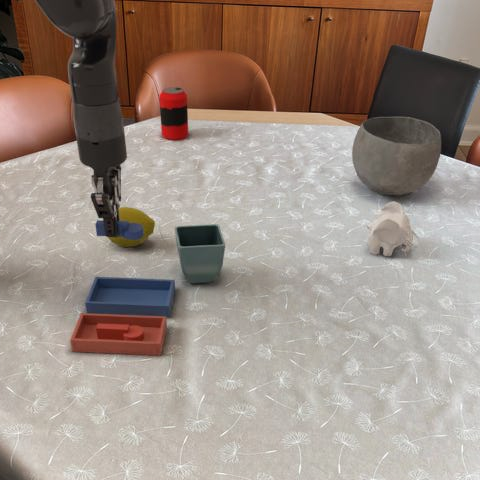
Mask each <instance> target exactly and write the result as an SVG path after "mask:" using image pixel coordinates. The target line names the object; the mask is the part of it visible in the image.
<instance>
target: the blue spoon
mask: <svg viewBox="0 0 480 480" xmlns="http://www.w3.org/2000/svg"><path fill="white" fill-rule="evenodd" d="M117 224H118V232H119V234H118V237H124V238H125V239H128V240H137V239H140V238H142V237H143V235H144V233H143V226H142V225H141V224H138V223H129V221H117ZM95 231H96V232H95V233H96V236H97V237H106V235H105V229H104V222H103V219H102V220H101V219H99V220H96V222H95Z"/></svg>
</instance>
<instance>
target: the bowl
mask: <svg viewBox="0 0 480 480" xmlns="http://www.w3.org/2000/svg"><path fill="white" fill-rule="evenodd" d="M351 149H352V151H351V159H352V165H353V168H354V171H355V173H356V175H357V177H358V179H359V180H360V182H362V184H363V185H364V186H365V187H367V188H369V189H370V190H372V191H374V192H376V193H378V194H382V195H388V196H402V195H407V194H410V193H413V192H416V191H418V190H420V189H422V187H424V186H425V185H426V184H427V183H428V182H429V181H430V180H431V178H432V177H433V176H434V174H435V171H436V170H437V167H438V164H439V162H440V159H441V153H442V135H441V132H440V130H439V129H438V128H436V126H434V125H433V124H432V123H430V122H428V121H426V120H422V119H418V118H414V117H410V116H376V117H369V118H367V119H366V120H364V121H363V122H362V123H361V124H360V126H359V128H358V130H357V132H356V134H355V137H354V139H353V143H352V148H351Z"/></svg>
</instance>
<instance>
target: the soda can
mask: <svg viewBox="0 0 480 480" xmlns="http://www.w3.org/2000/svg"><path fill="white" fill-rule="evenodd" d="M158 96H159V113H160V129H161V137H162V138H164V140H165V139H166V140H169V141H181V140H184V139H187V137H188V136H189V114H188V113H189V112H188V95H187V93H186V92H185V90H184V89H183V88H181V87H177V86H169V87H165V88H163V89H162V90H161V92H160V94H159V95H158Z"/></svg>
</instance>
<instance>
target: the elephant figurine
mask: <svg viewBox="0 0 480 480" xmlns="http://www.w3.org/2000/svg"><path fill="white" fill-rule="evenodd" d="M404 211H405V210H404V208H403V206H402V205H401V203H399V202H397V201H390V202H388V203H386V204H385V205H384V206H383V207H382V208H381V210H380V211H379V214H378V217H377V218H376V219H375V220H374V221H373V223H372V225H370V224H366V223H363V226H365V227H366V228H367V229H369V233H368V237H367V247H368V250H369V253H370V254H373V255H379V254H380V252H381V248H382V249H383V251H382V254H383V256H385V257H391V256H392V255H393V252H394V249H396V248H397V247H398V246H400V251H401V252H404V253H407V252H408V251H409V250H411V248H412V247H413V248H415V249H418V247H417V246H416V245H415V244H414V243H413V241H414V236H415V238H416V239H418V240H421V239H420V237H419V236H418V234H417V233H416V232H415V231H414V229H412V228H411V227H412V226H411V222H410V218H409V216H408V215H406V214H405V212H404Z"/></svg>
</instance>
